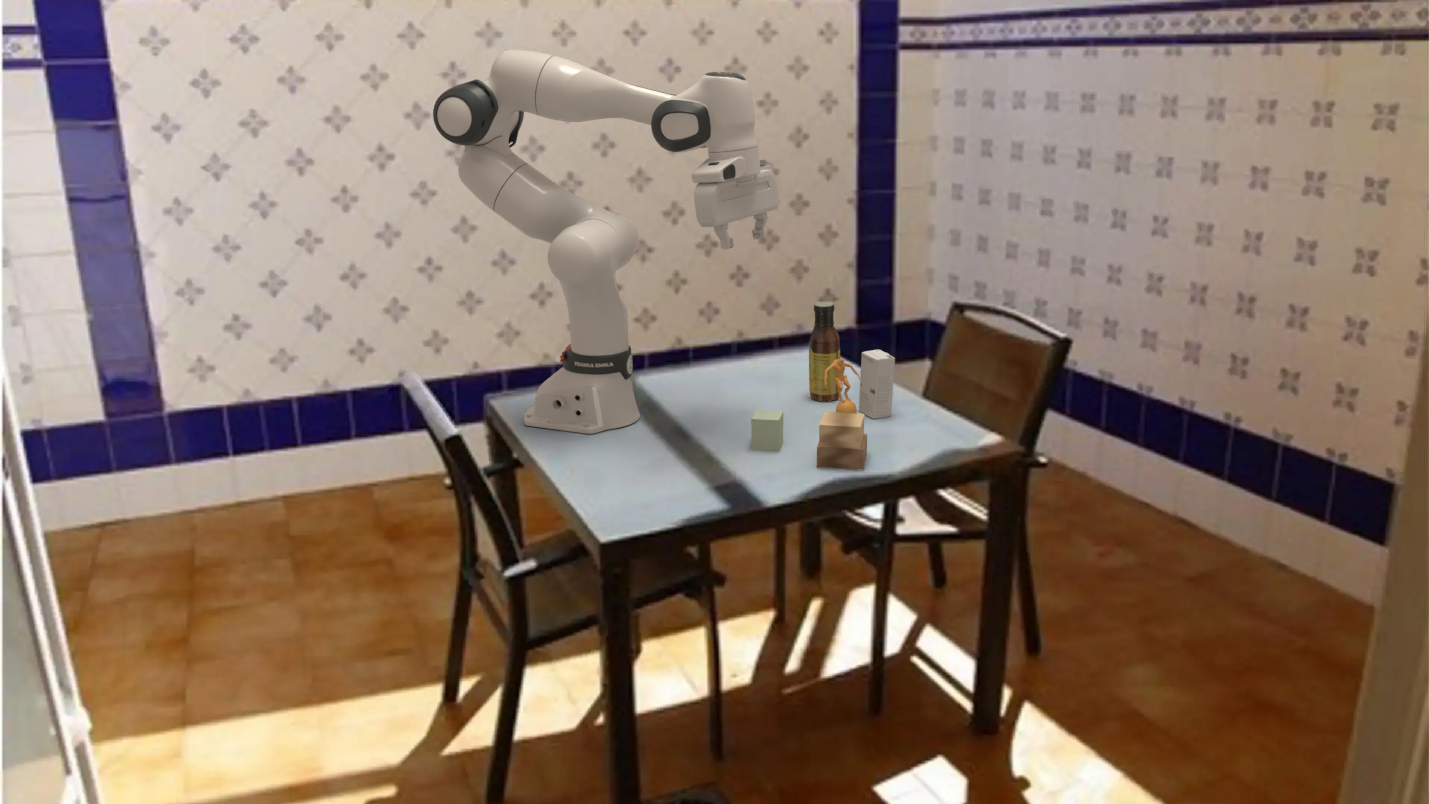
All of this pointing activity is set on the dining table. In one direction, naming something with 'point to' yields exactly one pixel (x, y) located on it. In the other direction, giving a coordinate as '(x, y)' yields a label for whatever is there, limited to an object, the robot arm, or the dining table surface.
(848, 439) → the tower top
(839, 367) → the figurine
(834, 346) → the sauce bottle
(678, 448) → the dining table surface
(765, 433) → the green block
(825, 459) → the tower base
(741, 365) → the dining table surface
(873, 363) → the skincare box
